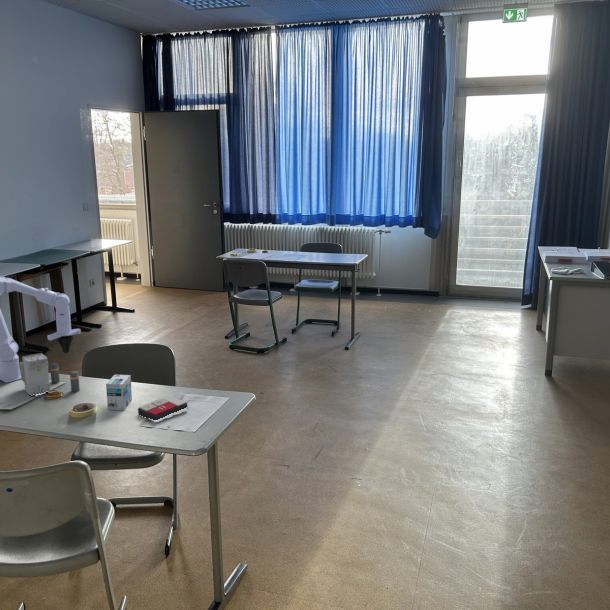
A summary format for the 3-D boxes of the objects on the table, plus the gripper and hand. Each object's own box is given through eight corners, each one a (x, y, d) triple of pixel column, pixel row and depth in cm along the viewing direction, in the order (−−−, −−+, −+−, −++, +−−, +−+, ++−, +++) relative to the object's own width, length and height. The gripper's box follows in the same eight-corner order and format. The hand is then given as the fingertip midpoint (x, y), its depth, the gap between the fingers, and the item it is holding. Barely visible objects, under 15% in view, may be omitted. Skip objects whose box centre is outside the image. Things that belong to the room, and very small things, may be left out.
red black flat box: (137, 406, 226) (169, 393, 237) (138, 417, 227) (170, 403, 238) (154, 414, 219) (187, 401, 230) (155, 425, 221) (188, 411, 232)
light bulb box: (124, 411, 230) (123, 384, 228) (106, 410, 230) (105, 383, 228) (132, 400, 241) (131, 374, 238) (115, 399, 241) (114, 374, 238)
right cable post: (69, 390, 248) (68, 372, 246) (76, 388, 251) (75, 370, 249) (74, 392, 246) (72, 374, 244) (81, 390, 249) (80, 372, 247)
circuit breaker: (39, 382, 256) (36, 349, 253) (50, 393, 246) (47, 358, 242) (21, 386, 251) (17, 352, 248) (31, 397, 241) (27, 361, 237)
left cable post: (49, 382, 257) (48, 364, 255) (57, 380, 260) (55, 362, 258) (54, 384, 255) (52, 366, 253) (61, 381, 258) (60, 364, 256)
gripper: (52, 327, 252) (55, 358, 256) (83, 320, 263) (86, 350, 267) (43, 324, 256) (46, 354, 260) (74, 317, 268) (76, 347, 271)
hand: (65, 352), depth 263 cm, fingers closed
